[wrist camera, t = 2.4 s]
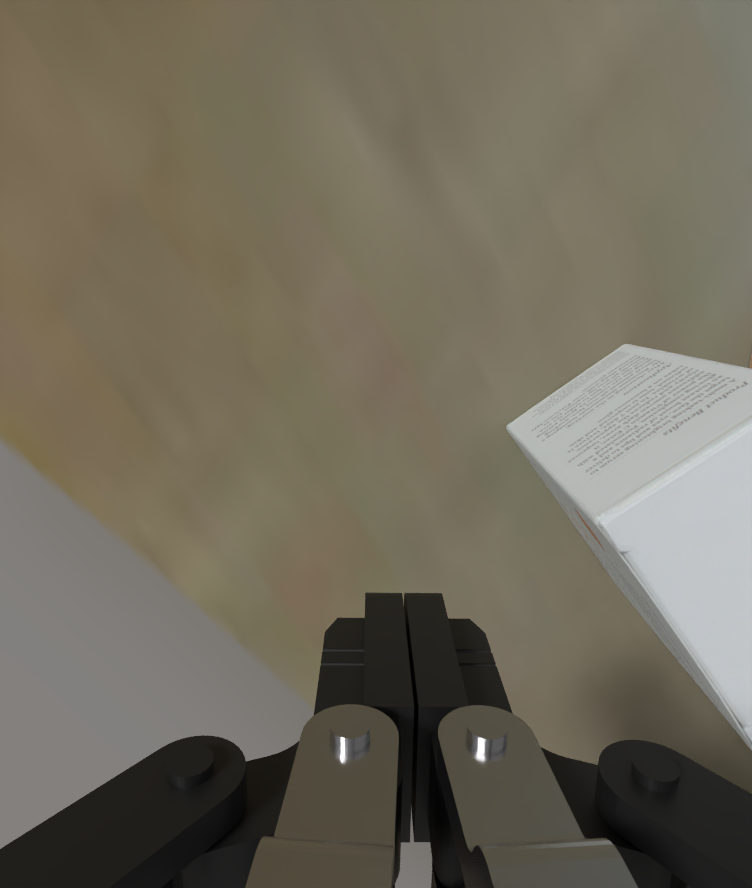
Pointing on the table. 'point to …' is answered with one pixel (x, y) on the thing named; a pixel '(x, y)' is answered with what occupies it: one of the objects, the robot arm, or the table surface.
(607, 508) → the small box
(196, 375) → the table surface
